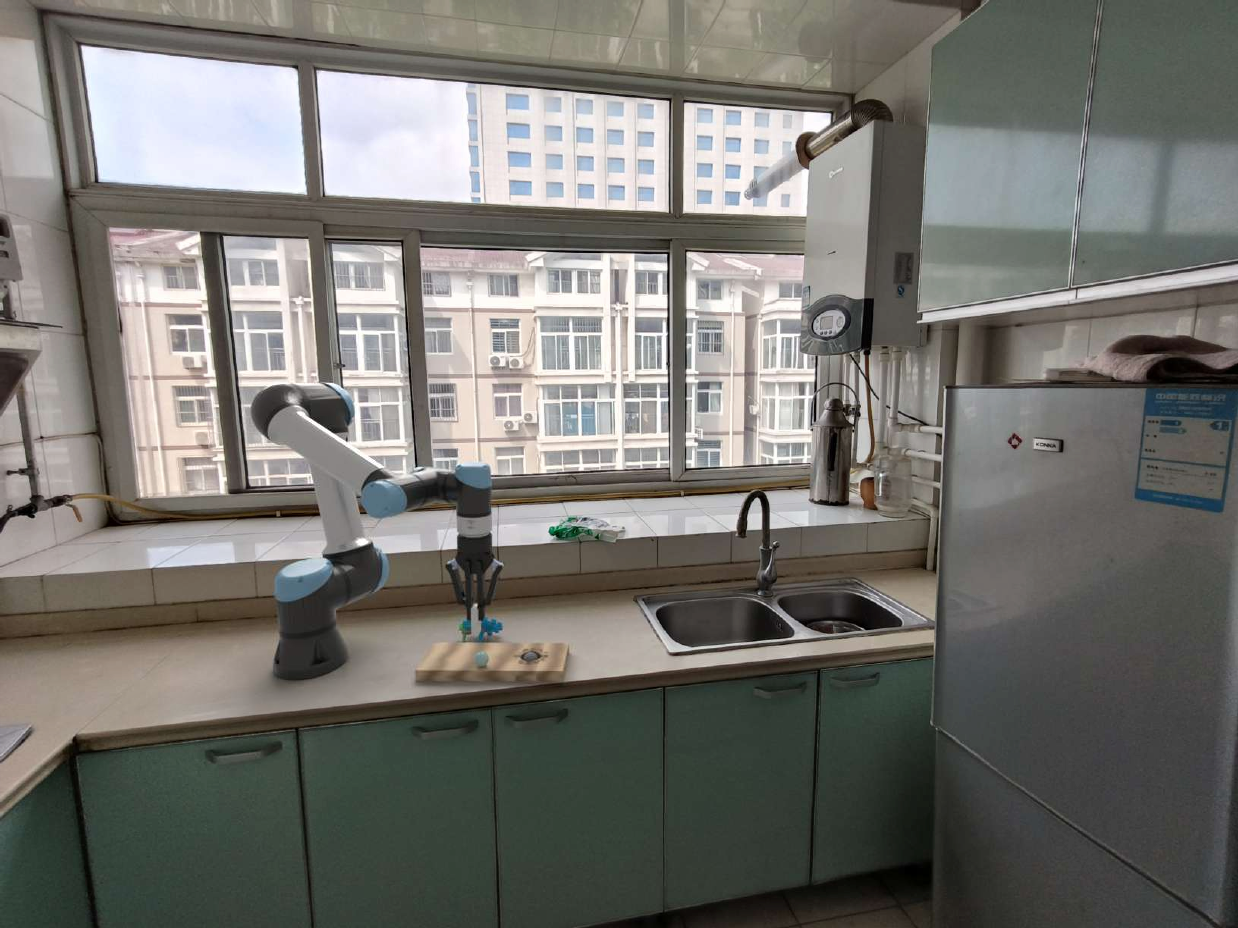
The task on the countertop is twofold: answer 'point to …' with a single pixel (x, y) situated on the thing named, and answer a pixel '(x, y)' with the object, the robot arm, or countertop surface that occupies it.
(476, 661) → the teal ball
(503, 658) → the board
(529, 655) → the grey ball
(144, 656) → the countertop surface
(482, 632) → the gear
